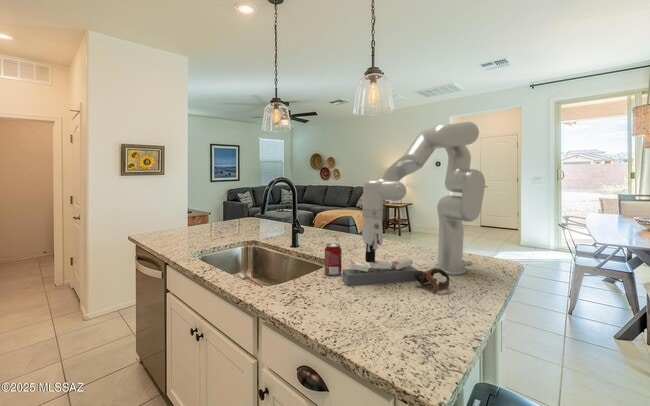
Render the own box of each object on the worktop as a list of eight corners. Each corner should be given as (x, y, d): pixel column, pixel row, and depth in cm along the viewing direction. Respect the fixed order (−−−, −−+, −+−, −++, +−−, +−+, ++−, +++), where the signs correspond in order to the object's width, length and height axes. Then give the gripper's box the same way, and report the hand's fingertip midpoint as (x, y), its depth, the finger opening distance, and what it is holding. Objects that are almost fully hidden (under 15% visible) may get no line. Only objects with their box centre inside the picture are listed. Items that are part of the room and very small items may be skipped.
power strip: (424, 273, 123) (425, 262, 123) (434, 279, 116) (434, 267, 116) (342, 279, 116) (342, 267, 116) (347, 286, 110) (347, 273, 109)
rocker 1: (364, 268, 116) (365, 263, 116) (367, 271, 112) (369, 266, 112) (347, 265, 115) (348, 260, 115) (350, 268, 111) (351, 263, 111)
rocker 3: (408, 261, 120) (407, 256, 119) (413, 264, 116) (412, 259, 115) (392, 266, 118) (391, 262, 118) (396, 269, 114) (395, 265, 114)
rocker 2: (386, 265, 118) (387, 260, 118) (390, 268, 114) (391, 263, 114) (369, 265, 116) (370, 260, 116) (373, 268, 113) (373, 263, 112)
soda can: (340, 276, 119) (340, 247, 118) (323, 275, 121) (323, 246, 120) (342, 271, 126) (342, 243, 125) (326, 270, 127) (326, 242, 126)
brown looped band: (442, 284, 112) (451, 269, 108) (443, 304, 105) (453, 289, 100) (410, 274, 114) (417, 259, 109) (409, 294, 107) (417, 278, 102)
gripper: (389, 216, 106) (387, 267, 108) (374, 211, 121) (372, 256, 122) (369, 216, 104) (367, 268, 106) (356, 211, 119) (354, 256, 121)
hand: (370, 261), depth 114 cm, fingers closed
